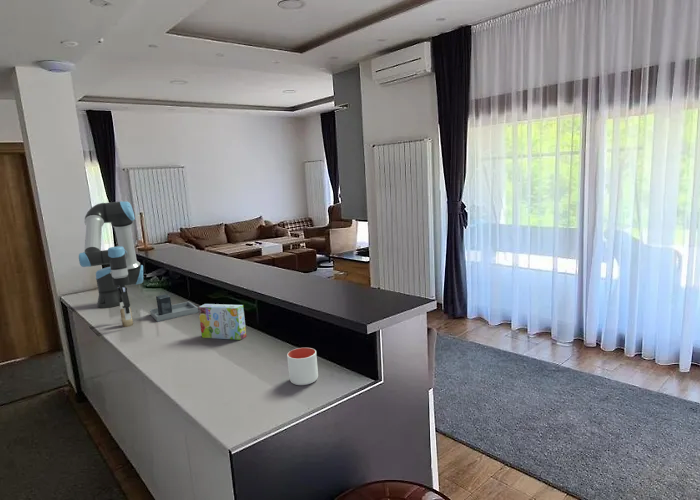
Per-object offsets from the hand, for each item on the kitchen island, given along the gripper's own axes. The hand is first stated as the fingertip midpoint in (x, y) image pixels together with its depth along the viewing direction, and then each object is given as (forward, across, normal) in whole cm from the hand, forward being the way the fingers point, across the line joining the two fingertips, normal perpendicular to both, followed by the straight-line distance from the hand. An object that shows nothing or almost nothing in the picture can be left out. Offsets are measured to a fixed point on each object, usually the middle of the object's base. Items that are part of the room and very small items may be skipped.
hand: (126, 316), depth 232 cm
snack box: (+6, +56, +32) cm, 64 cm away
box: (+4, -3, +20) cm, 20 cm away
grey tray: (+5, -3, +24) cm, 25 cm away
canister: (+5, 0, 0) cm, 5 cm away
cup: (+7, +120, +38) cm, 126 cm away
